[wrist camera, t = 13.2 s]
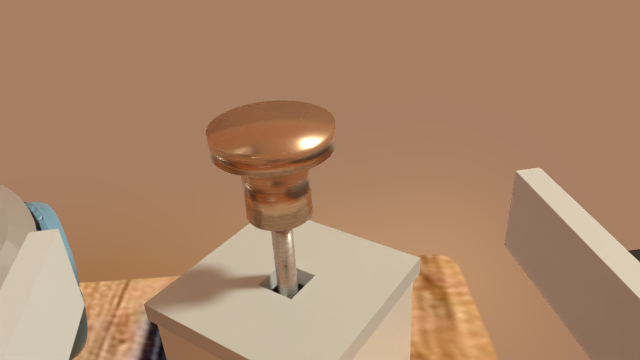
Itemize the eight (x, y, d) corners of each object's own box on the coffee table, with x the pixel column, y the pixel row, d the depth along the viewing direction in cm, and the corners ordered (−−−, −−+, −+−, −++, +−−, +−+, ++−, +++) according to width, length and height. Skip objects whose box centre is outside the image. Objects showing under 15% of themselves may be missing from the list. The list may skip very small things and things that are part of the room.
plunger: (237, 434, 38) (178, 136, 27) (292, 371, 43) (261, 93, 32) (313, 482, 35) (282, 166, 24) (364, 408, 40) (358, 113, 28)
